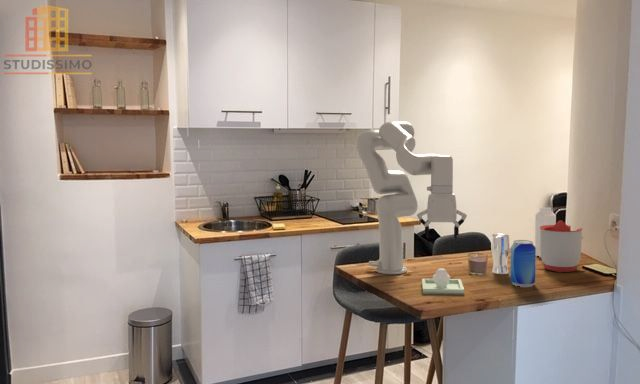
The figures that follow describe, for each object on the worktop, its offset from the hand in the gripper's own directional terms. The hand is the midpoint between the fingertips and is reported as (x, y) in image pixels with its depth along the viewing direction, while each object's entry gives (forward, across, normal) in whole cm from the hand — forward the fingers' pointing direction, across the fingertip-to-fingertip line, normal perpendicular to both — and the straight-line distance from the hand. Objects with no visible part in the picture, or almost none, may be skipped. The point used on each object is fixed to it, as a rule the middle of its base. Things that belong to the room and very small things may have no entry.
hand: (441, 237), depth 192 cm
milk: (+19, +48, +54) cm, 75 cm away
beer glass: (+19, +24, +24) cm, 39 cm away
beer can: (+19, +29, +6) cm, 35 cm away
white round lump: (+18, 0, -1) cm, 18 cm away
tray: (+18, 0, -1) cm, 19 cm away
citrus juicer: (+19, +49, +31) cm, 61 cm away
